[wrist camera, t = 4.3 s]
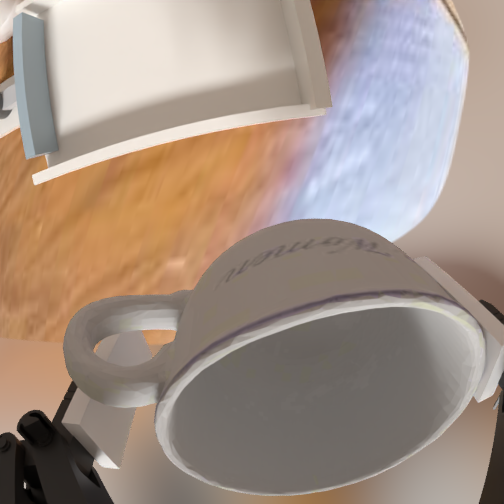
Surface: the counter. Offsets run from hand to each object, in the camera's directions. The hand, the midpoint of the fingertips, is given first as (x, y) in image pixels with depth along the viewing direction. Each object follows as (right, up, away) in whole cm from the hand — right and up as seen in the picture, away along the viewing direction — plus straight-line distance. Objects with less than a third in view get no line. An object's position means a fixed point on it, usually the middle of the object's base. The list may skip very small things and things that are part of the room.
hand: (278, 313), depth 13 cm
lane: (-14, +21, +9) cm, 27 cm away
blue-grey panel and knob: (-25, +18, +8) cm, 32 cm away
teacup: (0, +1, +2) cm, 2 cm away
